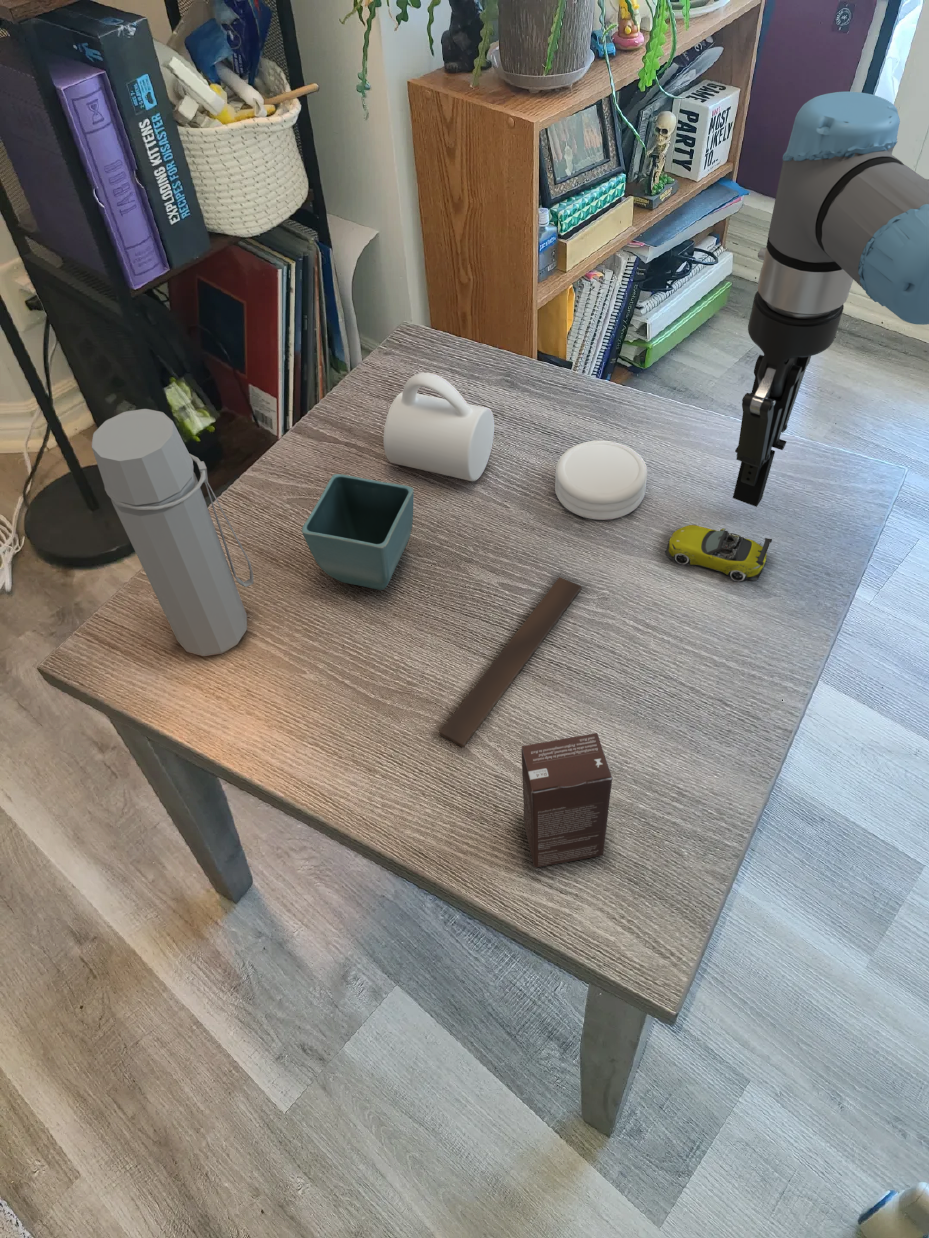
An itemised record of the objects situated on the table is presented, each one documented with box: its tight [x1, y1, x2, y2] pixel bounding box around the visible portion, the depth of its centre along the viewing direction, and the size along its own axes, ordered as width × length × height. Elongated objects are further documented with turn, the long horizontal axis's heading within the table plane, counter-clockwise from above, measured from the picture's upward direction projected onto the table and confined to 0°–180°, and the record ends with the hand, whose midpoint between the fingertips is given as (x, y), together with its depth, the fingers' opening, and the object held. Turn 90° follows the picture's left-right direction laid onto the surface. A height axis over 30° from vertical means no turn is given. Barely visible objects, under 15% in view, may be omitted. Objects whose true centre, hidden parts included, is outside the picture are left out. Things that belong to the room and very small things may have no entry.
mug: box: [383, 372, 495, 482], centre depth 100 cm, size 8×10×12 cm
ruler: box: [438, 576, 583, 748], centre depth 86 cm, size 3×22×1 cm, turn 147°
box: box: [521, 732, 613, 868], centre depth 69 cm, size 6×4×12 cm
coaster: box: [554, 439, 649, 521], centre depth 99 cm, size 10×10×4 cm
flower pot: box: [301, 473, 415, 591], centre depth 91 cm, size 9×9×9 cm
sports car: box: [664, 524, 773, 582], centre depth 92 cm, size 5×10×3 cm, turn 64°
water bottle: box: [91, 408, 254, 657], centre depth 81 cm, size 9×8×25 cm
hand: (747, 498), depth 96 cm, fingers closed
